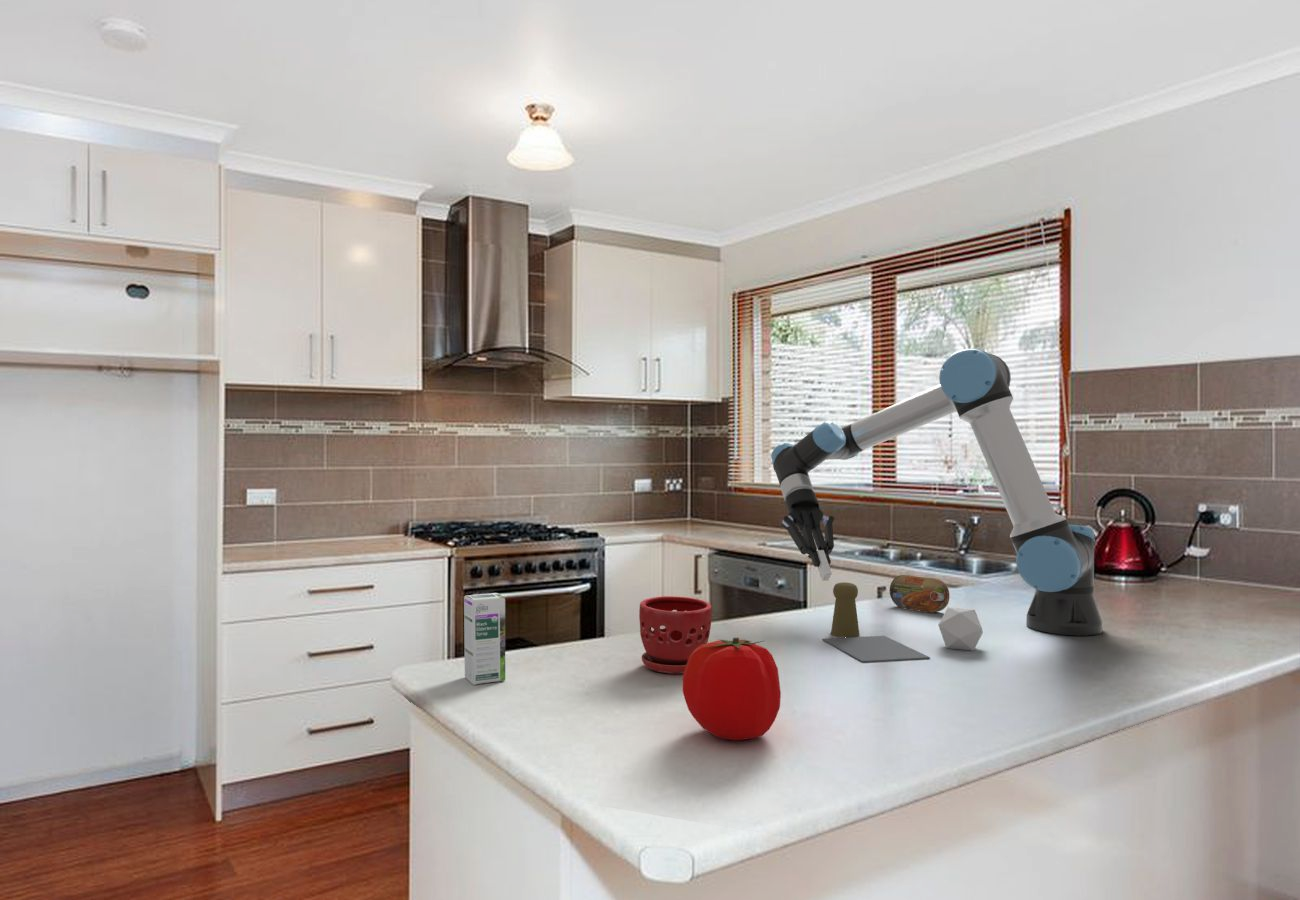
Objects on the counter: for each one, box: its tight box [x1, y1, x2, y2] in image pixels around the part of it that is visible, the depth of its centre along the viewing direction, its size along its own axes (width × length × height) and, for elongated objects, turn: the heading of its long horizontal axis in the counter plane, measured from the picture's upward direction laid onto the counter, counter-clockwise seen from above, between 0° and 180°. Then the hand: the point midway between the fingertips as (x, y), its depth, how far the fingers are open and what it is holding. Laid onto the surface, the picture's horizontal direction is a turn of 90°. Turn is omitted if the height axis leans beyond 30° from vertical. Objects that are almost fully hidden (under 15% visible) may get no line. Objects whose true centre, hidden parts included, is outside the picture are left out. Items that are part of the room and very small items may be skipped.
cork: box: [830, 582, 860, 638], centre depth 180 cm, size 6×6×11 cm
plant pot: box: [638, 595, 713, 675], centre depth 153 cm, size 13×13×12 cm
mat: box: [822, 635, 931, 663], centre depth 168 cm, size 18×14×1 cm
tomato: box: [682, 637, 782, 741], centre depth 119 cm, size 16×14×14 cm
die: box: [938, 606, 983, 652], centre depth 169 cm, size 8×9×10 cm
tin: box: [889, 574, 950, 614], centre depth 207 cm, size 15×3×8 cm, turn 43°
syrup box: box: [463, 592, 506, 686], centre depth 145 cm, size 6×6×14 cm
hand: (826, 576), depth 189 cm, fingers closed
